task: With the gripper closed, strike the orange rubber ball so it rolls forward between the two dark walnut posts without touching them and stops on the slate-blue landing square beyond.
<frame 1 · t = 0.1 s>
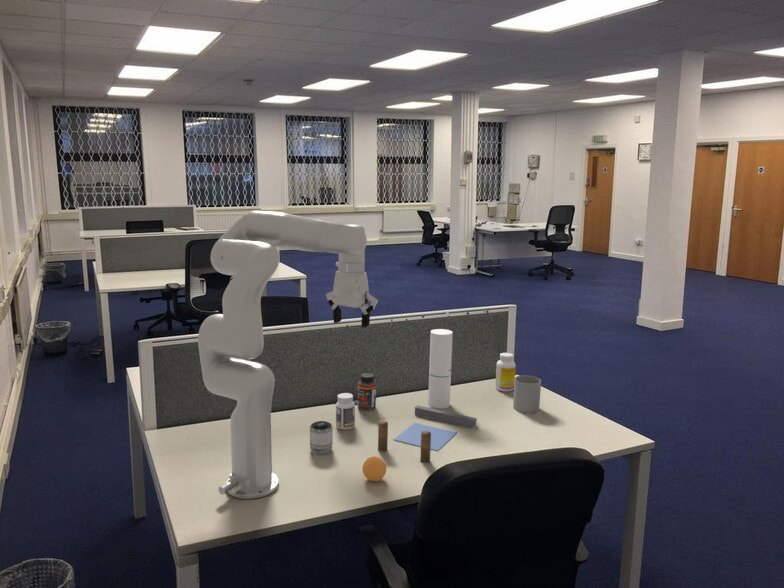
hand: (351, 324, 187), 31 cm above the table, tool pointing down, fingers open, 9 cm apart
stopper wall: (444, 420, 197), on the table
supplement bottle 2: (504, 389, 225), on the table
right post: (425, 460, 170), on the table
supplement bottle: (366, 408, 205), on the table
ball: (374, 468, 158), on the table
cup: (526, 409, 208), on the table
left post: (382, 449, 176), on the table
pill bottle: (345, 427, 191), on the table
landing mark: (425, 436, 185), on the table
camera lens: (321, 451, 175), on the table
cylindrical container: (438, 405, 210), on the table
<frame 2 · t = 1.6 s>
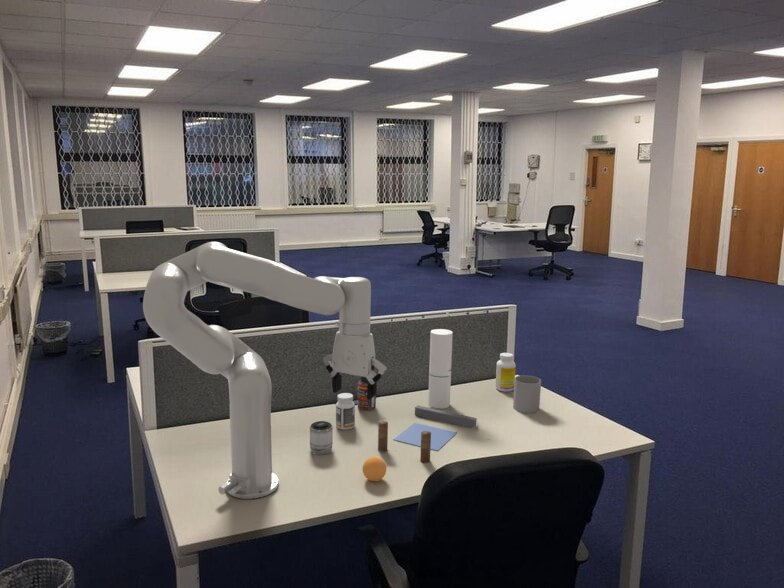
hand: (354, 394, 158), 21 cm above the table, tool pointing down, fingers open, 9 cm apart
nothing on the table moved.
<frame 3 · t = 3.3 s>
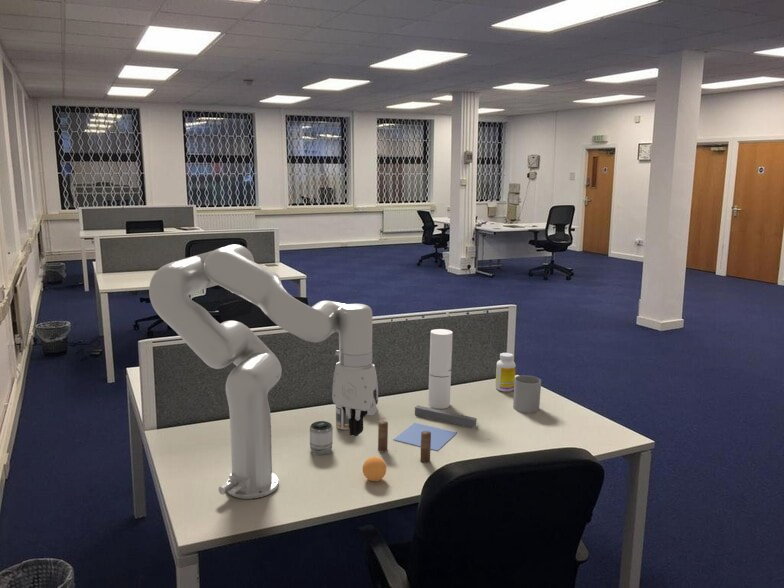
hand: (356, 433, 147), 16 cm above the table, tool pointing down, fingers closed
nothing on the table moved.
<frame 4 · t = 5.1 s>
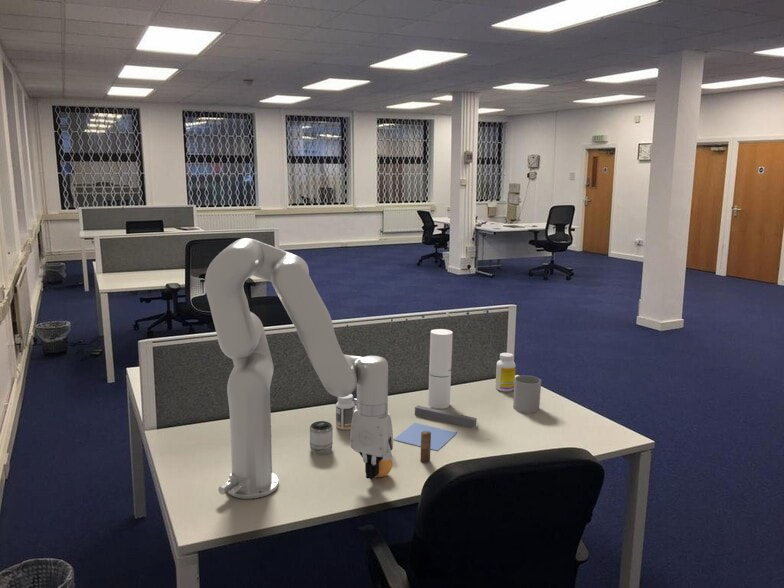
hand: (372, 476, 157), 2 cm above the table, tool pointing down, fingers closed
ball: (380, 464, 160), on the table
everything else where it was.
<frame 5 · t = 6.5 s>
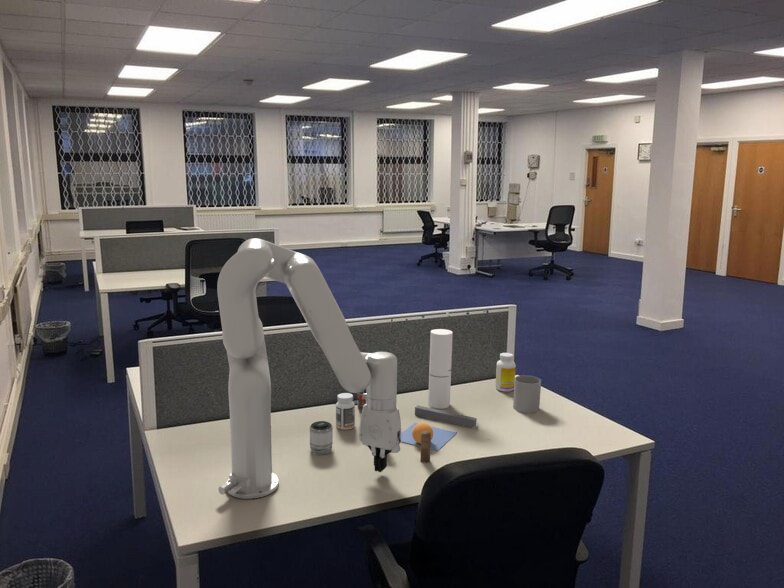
hand: (380, 469, 161), 2 cm above the table, tool pointing down, fingers closed
ball: (422, 433, 180), on the table
everything else where it was.
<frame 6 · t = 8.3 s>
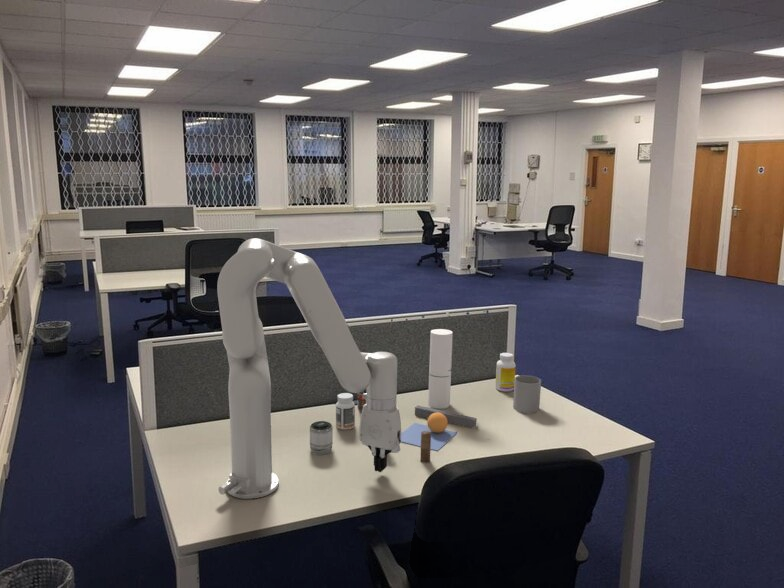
hand: (380, 469, 161), 2 cm above the table, tool pointing down, fingers closed
ball: (437, 422, 187), on the table
everything else where it was.
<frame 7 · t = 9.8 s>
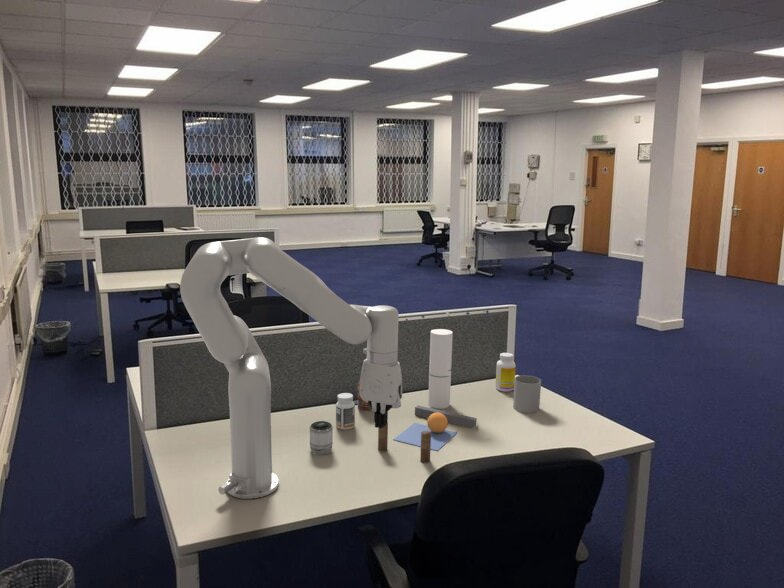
hand: (380, 426, 159), 13 cm above the table, tool pointing down, fingers closed
nothing on the table moved.
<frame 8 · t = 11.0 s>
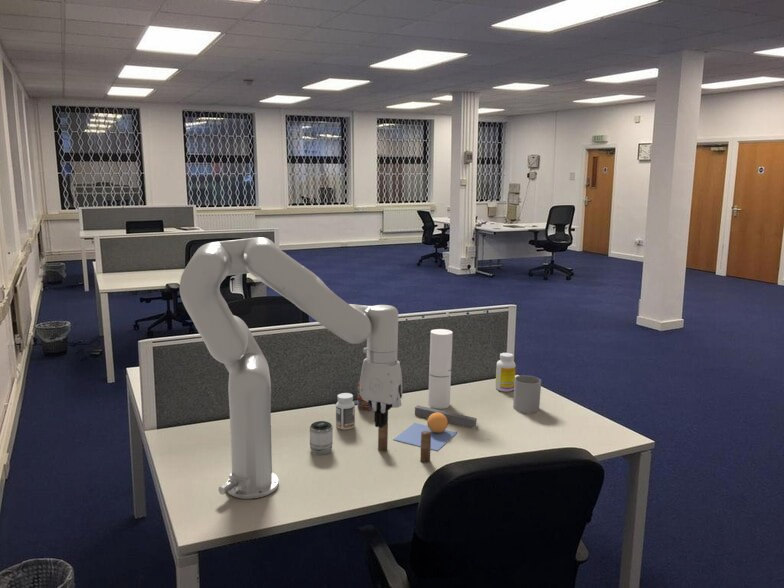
hand: (381, 425, 159), 14 cm above the table, tool pointing down, fingers closed
nothing on the table moved.
at the end: ball 4.8 cm from the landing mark (horizontally); ball never touched left post; ball never touched right post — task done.
